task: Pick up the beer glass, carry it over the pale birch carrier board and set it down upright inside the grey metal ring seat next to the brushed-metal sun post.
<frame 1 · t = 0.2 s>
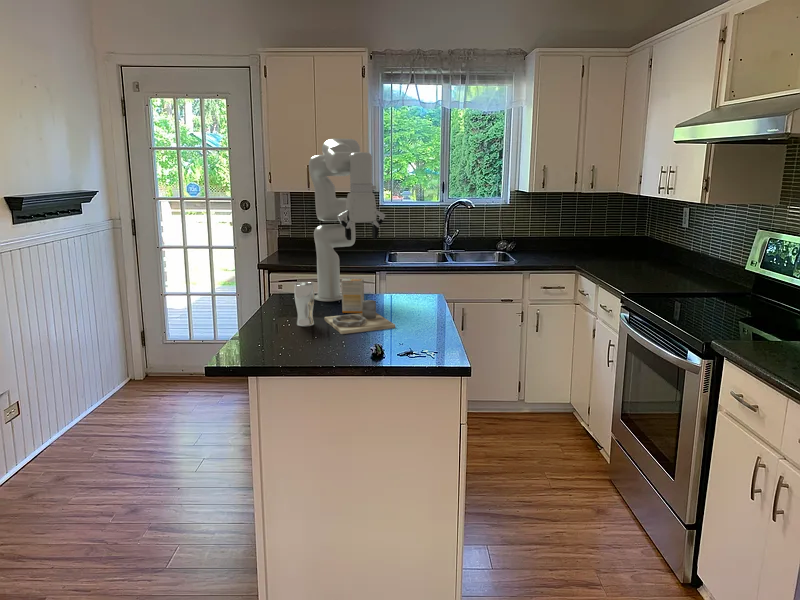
hand: (361, 239, 206), 31 cm above the worktop, fingers open, 9 cm apart
carrier board: (359, 323, 213), on the worktop
beer glass: (305, 324, 213), on the worktop
supplement box: (353, 312, 231), on the worktop
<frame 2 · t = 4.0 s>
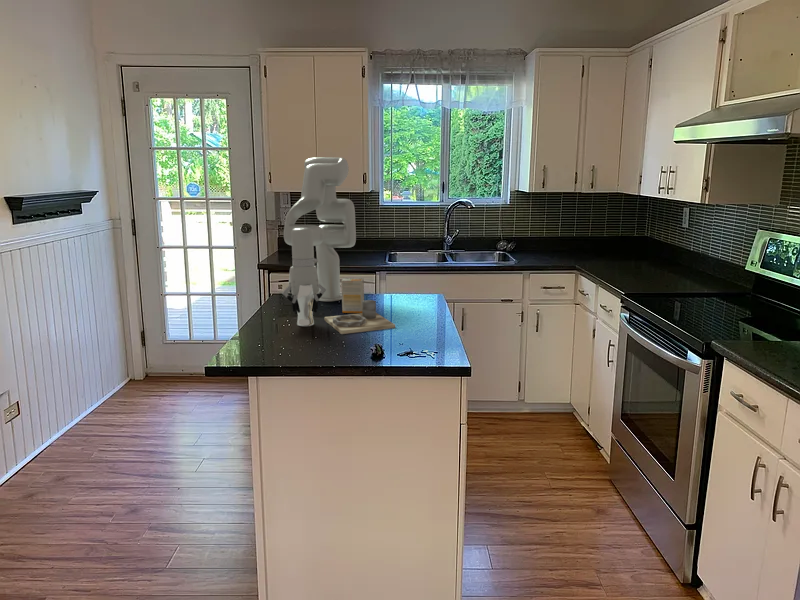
hand: (305, 311, 212), 5 cm above the worktop, fingers closed on beer glass, 6 cm apart
beer glass: (305, 324, 213), on the worktop, touching gripper
everything else where it was.
when the fingers open (8 cm above the worktop, at t = 10.7 s): beer glass drops 2 cm, resting on carrier board.
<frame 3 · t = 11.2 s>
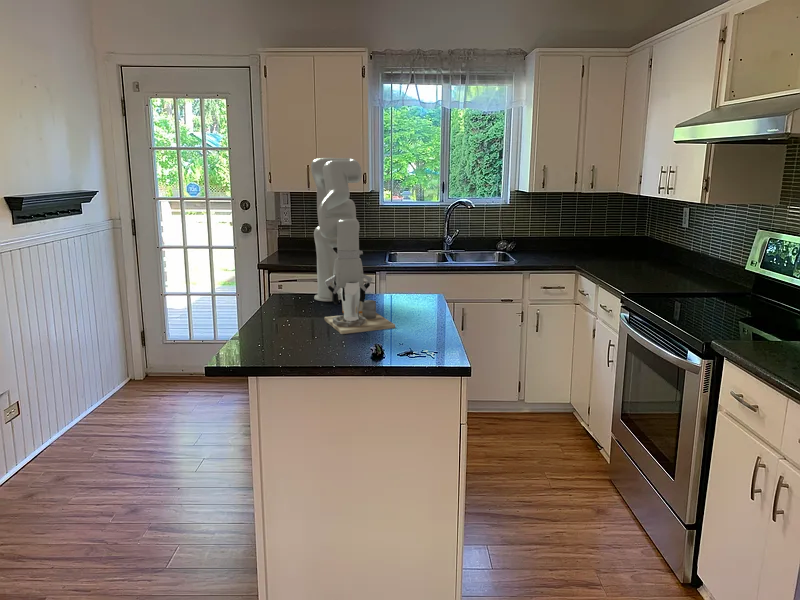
hand: (349, 302, 209), 8 cm above the worktop, fingers open, 9 cm apart
beer glass: (351, 322, 211), point 1 cm above the worktop, touching carrier board
everything else where it was.
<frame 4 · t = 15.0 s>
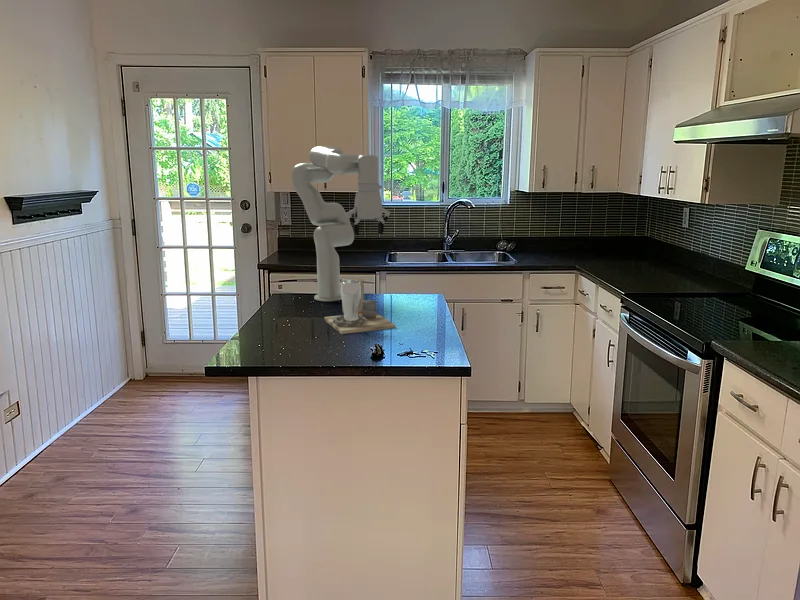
hand: (368, 234, 225), 30 cm above the worktop, fingers open, 9 cm apart
nothing on the worktop moved.
at the end: beer glass 0.8 cm from the target spot on the carrier board, point 1.0 cm above the carrier board's base; beer glass tilted 0°; the gripper is holding nothing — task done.
